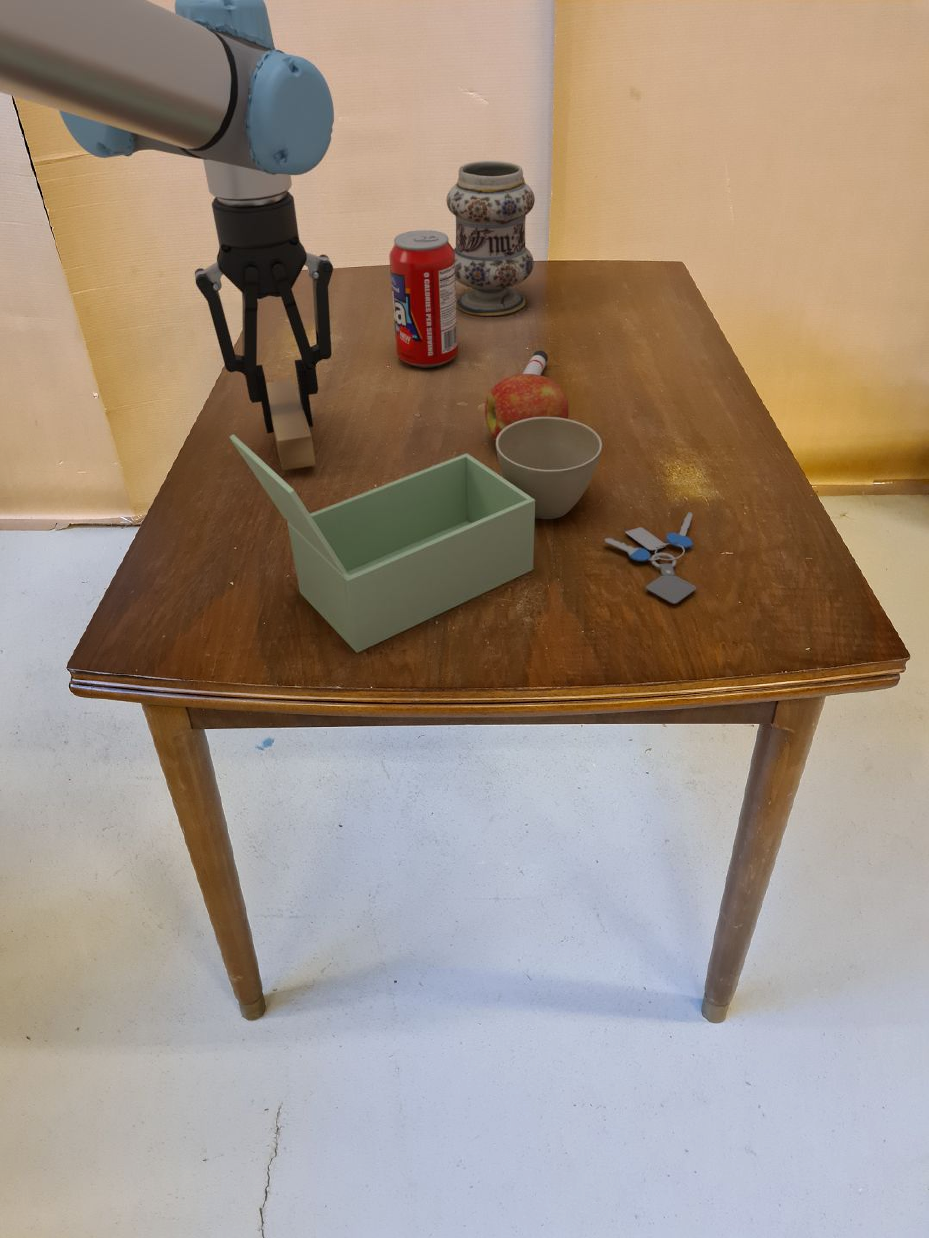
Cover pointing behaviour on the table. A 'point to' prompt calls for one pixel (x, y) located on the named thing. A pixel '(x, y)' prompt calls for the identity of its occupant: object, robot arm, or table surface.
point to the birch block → (290, 425)
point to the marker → (536, 363)
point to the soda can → (424, 298)
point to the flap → (288, 503)
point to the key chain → (667, 582)
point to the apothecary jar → (491, 236)
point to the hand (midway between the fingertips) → (288, 423)
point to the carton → (415, 549)
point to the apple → (523, 401)
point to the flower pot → (549, 461)
